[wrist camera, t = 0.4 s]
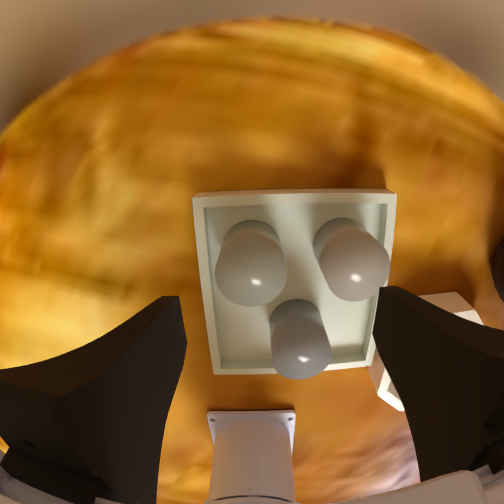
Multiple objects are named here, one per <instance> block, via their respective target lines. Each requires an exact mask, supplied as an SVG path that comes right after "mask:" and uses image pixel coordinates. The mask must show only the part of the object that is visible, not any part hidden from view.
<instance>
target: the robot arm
mask: <svg viewBox="0 0 504 504" xmlns="http://www.w3.org/2000/svg"><path fill="white" fill-rule="evenodd" d="M372 335H373V338H374V341H375V345H376V348H377V351H378V353H379V356H380V358H381V360H382V362H383V364H384V366H385V368H386V371H387V373H388V375H389V377H390V379H391V381H392V383H393V385H394V387H395V389H396V391H397V393H398V395H399V397H400V400H401V402H402V404H403V407H404V410H405V413H406V416H407V420H408V423H409V426H410V430H411V434H412V438H413V442H414V446H415V450H416V456H417V461H418V467H419V473H420V481H421V483H417V484H414V485H411V486H407V487H404V488H400V489H397V490H393V491H389V492H385V493H381V494H377V495H372V496H368V497H363V498H358V499H352V500H347V501H341V502H334V503H327V504H504V331H503V330H499V329H495V328H491V327H488V326H484V325H481V324H478V323H476V322H473V321H470V320H467V319H465V318H462V317H460V316H457V315H455V314H453V313H451V312H449V311H446V310H444V309H442V308H440V307H438V306H436V305H434V304H432V303H430V302H428V301H426V300H424V299H422V298H420V297H418V296H416V295H414V294H412V293H410V292H408V291H406V290H404V289H402V288H399V287H397V286H385V287H379V294H378V301H377V307H376V314H375V320H374V325H373V331H372ZM186 347H187V339H186V334H185V329H184V323H183V318H182V312H181V306H180V300H179V296H162V297H160V298H158V299H157V300H155V301H154V302H152V303H151V304H149V305H148V306H147V307H145V308H144V309H142V310H141V311H140V312H138V313H137V314H135V315H134V316H133V317H131V318H130V319H128V320H127V321H125V322H124V323H122V324H121V325H119V326H118V327H116V328H114V329H113V330H111V331H110V332H108V333H107V334H105V335H103V336H101V337H100V338H98V339H96V340H94V341H92V342H90V343H88V344H86V345H84V346H82V347H79V348H77V349H75V350H72V351H70V352H67V353H65V354H62V355H60V356H57V357H54V358H51V359H48V360H44V361H41V362H37V363H33V364H29V365H24V366H19V367H13V368H7V369H0V436H1V438H2V439H3V440H4V441H5V443H6V444H7V445H8V446H9V449H8V451H7V452H6V454H5V453H4V452H2V451H1V450H0V504H156V497H157V483H158V472H159V463H160V455H161V448H162V441H163V435H164V429H165V424H166V419H167V415H168V412H169V409H170V405H171V402H172V399H173V396H174V393H175V390H176V387H177V384H178V381H179V377H180V374H181V371H182V368H183V364H184V359H185V353H186ZM207 419H208V424H209V428H210V432H211V436H212V440H213V444H214V452H213V461H212V469H211V478H210V487H209V496H208V500H205V502H204V504H301V503H300V502H298V503H296V501H295V489H294V477H293V465H292V450H293V440H294V430H295V420H296V412H295V411H294V410H273V411H209V412H208V413H207Z"/></svg>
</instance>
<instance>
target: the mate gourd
mask: <svg viewBox="0 0 504 504" xmlns="http://www.w3.org/2000/svg"><path fill="white" fill-rule="evenodd" d="M492 277H493V280H494V285H495V288H496V290H497V291H498V294H499V296H500V298H501V300H502V301H503V302H504V240H503V241H502V243H501V244H500V246H499V247H498V250H497V252H496V255H495V258H494V262H493V269H492Z"/></svg>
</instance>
